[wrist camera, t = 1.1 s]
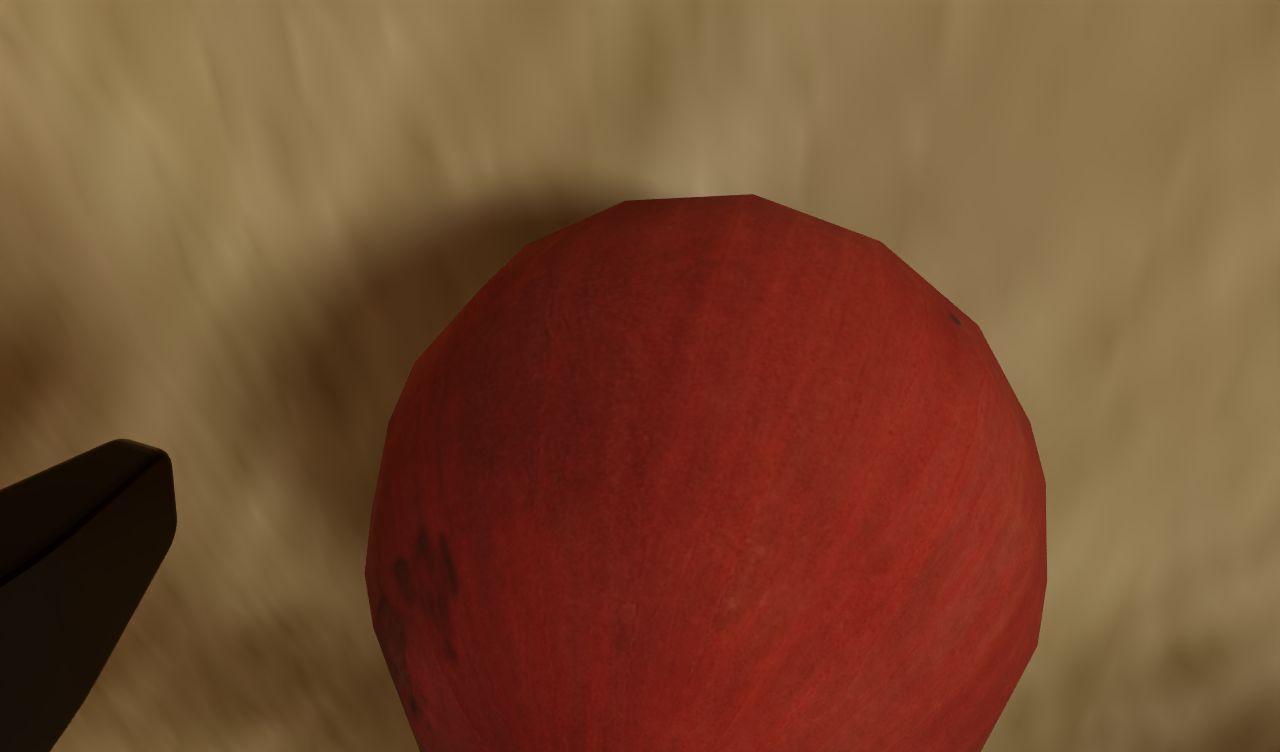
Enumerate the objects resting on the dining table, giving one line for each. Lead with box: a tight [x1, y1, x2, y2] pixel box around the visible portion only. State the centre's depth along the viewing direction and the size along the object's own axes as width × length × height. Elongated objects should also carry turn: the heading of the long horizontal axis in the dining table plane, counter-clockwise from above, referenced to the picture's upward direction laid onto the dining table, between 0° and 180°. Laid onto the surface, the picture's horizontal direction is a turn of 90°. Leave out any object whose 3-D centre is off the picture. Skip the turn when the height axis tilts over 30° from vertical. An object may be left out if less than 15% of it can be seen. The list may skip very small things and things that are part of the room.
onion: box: [365, 194, 1047, 752], centre depth 10 cm, size 6×6×8 cm
